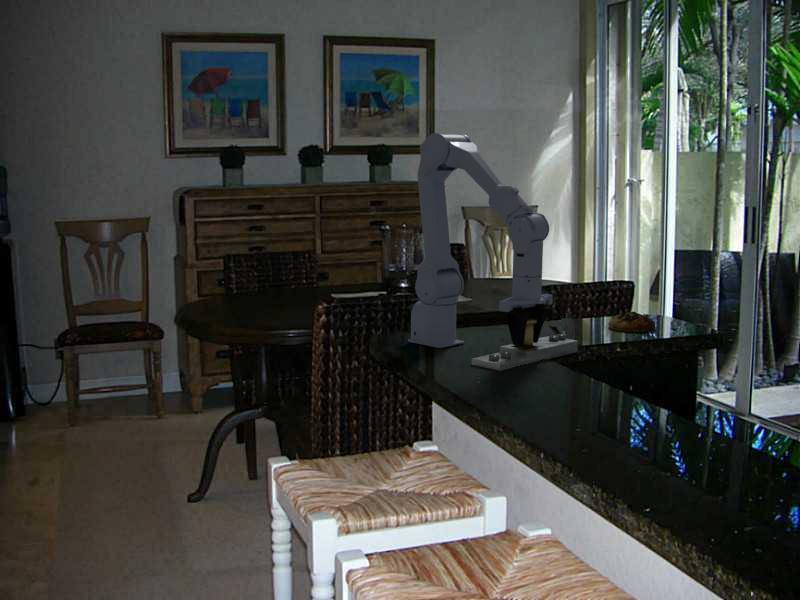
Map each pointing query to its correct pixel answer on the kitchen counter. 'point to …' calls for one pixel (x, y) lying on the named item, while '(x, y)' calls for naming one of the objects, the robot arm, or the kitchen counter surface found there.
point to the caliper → (564, 325)
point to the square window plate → (505, 360)
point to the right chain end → (545, 347)
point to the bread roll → (631, 323)
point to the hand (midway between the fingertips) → (525, 343)
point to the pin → (529, 334)
